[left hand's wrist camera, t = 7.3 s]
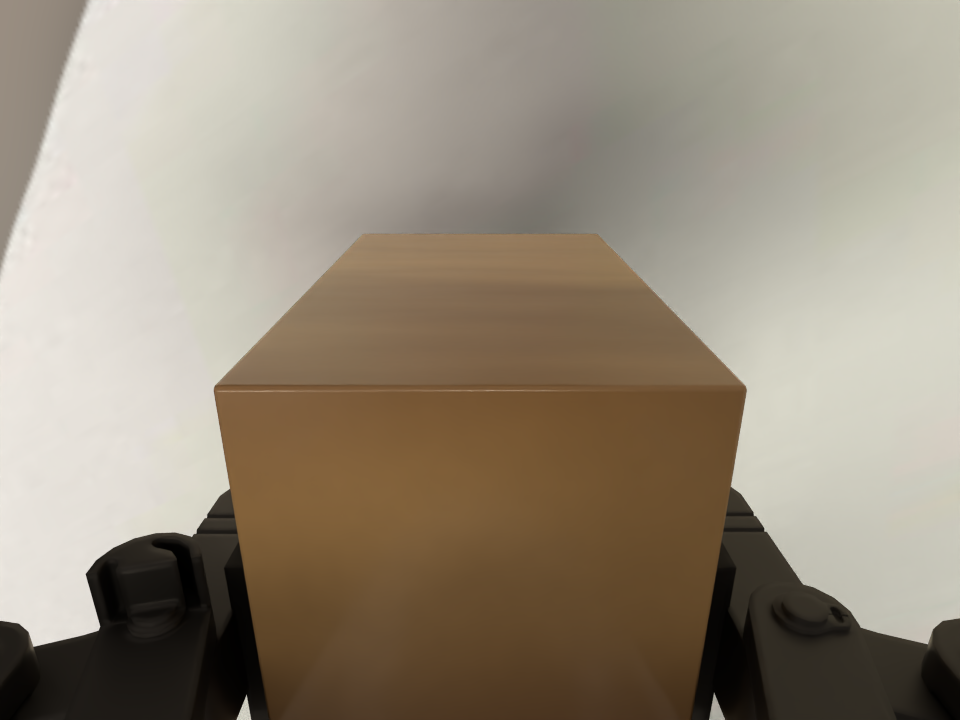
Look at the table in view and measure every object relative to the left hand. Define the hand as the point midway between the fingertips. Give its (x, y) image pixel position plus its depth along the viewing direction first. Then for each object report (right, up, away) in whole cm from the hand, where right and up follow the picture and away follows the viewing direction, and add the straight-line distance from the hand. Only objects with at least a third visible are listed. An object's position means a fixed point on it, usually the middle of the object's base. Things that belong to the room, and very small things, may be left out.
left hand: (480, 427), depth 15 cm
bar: (0, -8, +4) cm, 9 cm away
